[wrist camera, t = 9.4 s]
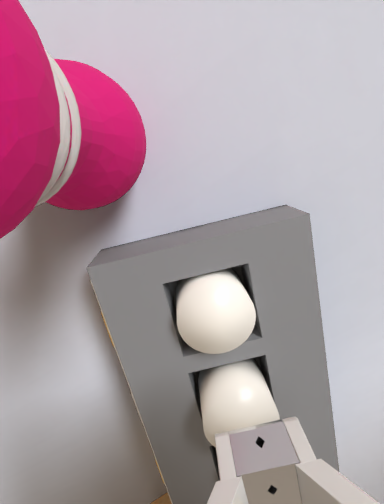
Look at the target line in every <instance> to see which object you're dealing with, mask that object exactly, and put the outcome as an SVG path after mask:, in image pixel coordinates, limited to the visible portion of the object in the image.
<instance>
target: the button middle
mask: <svg viewBox="0 0 384 504" xmlns="http://www.w3.org/2000/svg"><path fill="white" fill-rule="evenodd" d="M198 385H199V394H200V402H201V411H202V420H203V429H204V434H205V436H206V438H207V440H208V441H209V442H210V444H212V445H213V446H214V447H215V448H216V446H215V434H217V433H222V432H227V431H228V432H229V431H231V430H237V429H242V428H247V427H252V426H255V425H259V424H263V423H267V422H272V421H276V420H280V418H279V413H278V410H277V408H276V405H275V403H274V400H273V398H272V396H271V393H270V391H269V388H268V386H267V384H266V381H265V379H264V377H263V374H262V372H261V369H260V367H259V365H258V364H257V362H256V361H255V360H254V359H253V358H250V359H246V360H242V361H238V362H233V363H229V364H225V365H221V366H217V367H212V368H208V369H204V370H201V371H200V373H199V377H198Z"/></svg>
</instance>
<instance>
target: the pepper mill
mask: <svg viewBox="0 0 384 504" xmlns="http://www.w3.org/2000/svg"><path fill="white" fill-rule="evenodd" d="M145 154H146V137H145V129H144V126H143V123H142V119H141V116H140V114H139V112H138V110H137V108H136V106H135V104H134V102H133V101H132V100H131V98H130V97H129V95H128V94H127V93H126V92H125V91H124V90H123V89H122V88H121V87H120V86H119V85H118V84H117V83H116V82H115V81H113V80H112V79H111V78H109V77H108V76H106V75H105V74H104V73H102V72H101V71H99V70H98V69H95V68H93V67H91V66H89V65H87V64H83V63H80V62H76V61H70V60H60V59H53V58H52V56H51V55H50V54H49V53H48V52H47V51H46V50H45V49H44V47H43V45H42V42H41V40H40V38H39V35H38V33H37V30H36V29H35V27H34V25H33V24H32V22H31V21H30V19H29V17H28V16H27V14H26V12H25V11H24V9H23V7H22V6H21V4H20V3H19V1H18V0H0V238H2V237H3V236H5V235H6V234H8V233H9V232H11V231H12V230H13V229H15V228H16V227H17V226H18V225H19V224H20V223H21V222H22V221H23V219H24V218H25V217H26V216H27V215H28V214H29V213H30V212H31V211H32V210H33V209H34V207H36V206H38V205H40V204H42V203H44V202H47V203H49V204H51V205H54V206H57V207H60V208H65V209H69V210H87V209H92V208H98V207H101V206H105V205H107V204H110V203H112V202H114V201H116V200H117V199H119V198H120V197H122V196H123V195H124V194H125V193H126V192H127V191H128V190H130V188H131V187H132V186H133V184H134V183H135V182H136V180H137V178H138V176H139V174H140V173H141V170H142V167H143V164H144V160H145Z"/></svg>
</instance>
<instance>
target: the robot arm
mask: <svg viewBox="0 0 384 504" xmlns="http://www.w3.org/2000/svg"><path fill="white" fill-rule="evenodd" d="M215 446H216V453H217V461H218V468H219V476H220V481H217V482H216V483H215V485H214V488H213V490H212V492H211V495H210V497H209V500H208V502H207V504H380V503H379V502H377V501H376V500H375V499H374V498H372V497H371V496H370V495H368V494H367V493H366V492H364V491H363V490H362V489H360V488H359V487H358V486H356V485H355V484H354V483H352V482H351V481H350V480H349V479H347V478H346V477H345V476H343V475H342V474H341V473H339V472H338V471H337V470H335V469H334V468H333V467H331V466H330V465H329V464H328V463H326V462H325V461H324V460H322V459H316V457H315V455H314V452H313V450H312V448H311V446H310V444H309V442H308V440H307V437H306V435H305V433H304V431H303V429H302V427H301V425H300V422H299V420H298V418H297V417H296V416H294V417H290V418H285V419H282V420H281V419H280V420H276V421H272V422H267V423H263V424H259V425H255V426H252V427H247V428H242V429H237V430H231V431H229V432H228V431H227V432H222V433H217V434H215Z"/></svg>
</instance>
